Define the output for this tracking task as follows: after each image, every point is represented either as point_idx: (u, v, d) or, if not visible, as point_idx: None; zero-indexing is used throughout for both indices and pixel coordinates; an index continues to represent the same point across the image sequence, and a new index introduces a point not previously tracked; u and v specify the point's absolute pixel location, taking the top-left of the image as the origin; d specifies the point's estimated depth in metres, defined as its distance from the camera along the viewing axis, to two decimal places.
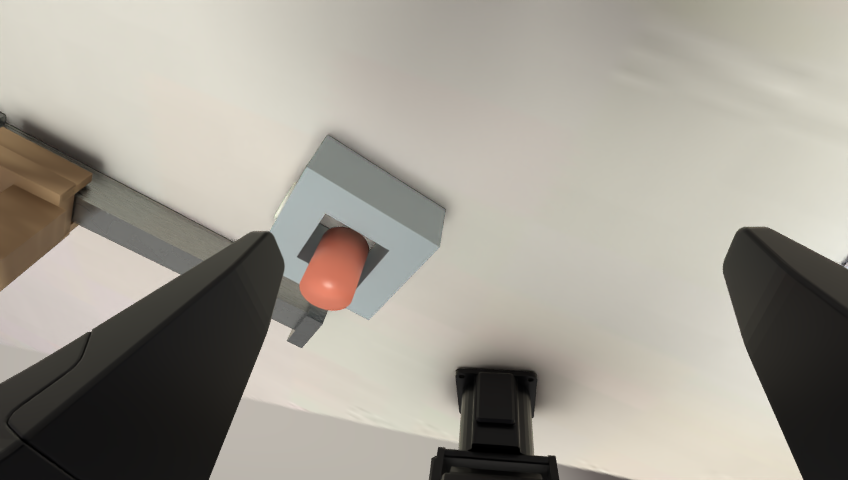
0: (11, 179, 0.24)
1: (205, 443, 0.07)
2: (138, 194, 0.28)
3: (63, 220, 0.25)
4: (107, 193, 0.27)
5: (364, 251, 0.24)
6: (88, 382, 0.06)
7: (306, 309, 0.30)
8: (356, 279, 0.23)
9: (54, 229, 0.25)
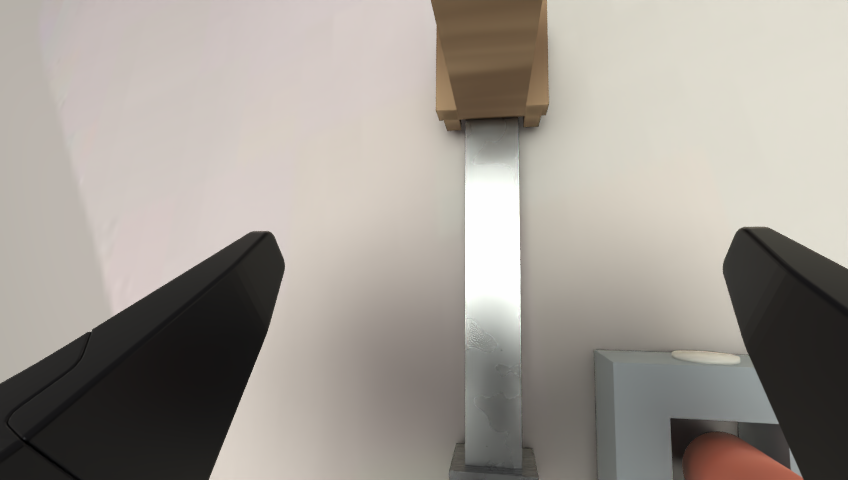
0: None
1: (205, 443, 0.07)
2: None
3: (505, 114, 0.19)
4: None
5: None
6: (88, 382, 0.06)
7: (521, 464, 0.19)
8: None
9: (500, 108, 0.18)
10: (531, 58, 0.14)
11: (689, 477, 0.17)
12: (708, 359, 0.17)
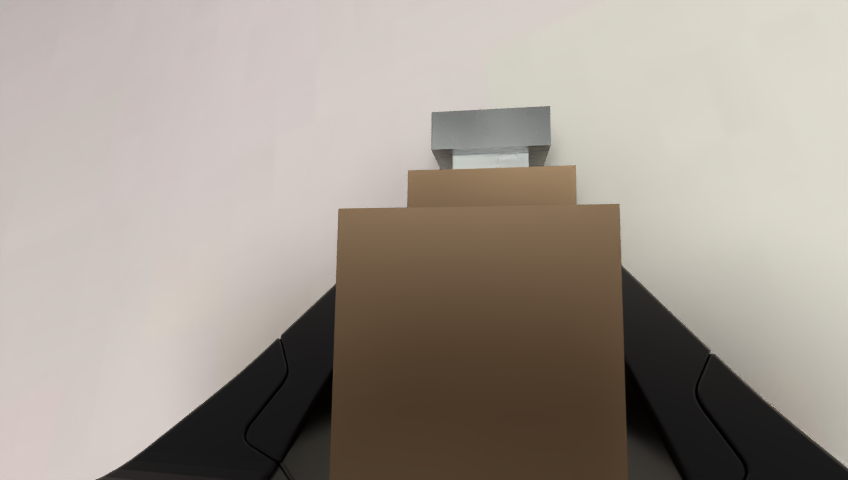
0: None
1: None
2: None
3: None
4: None
5: None
6: (312, 395, 0.05)
7: None
8: None
9: None
10: None
11: None
12: None
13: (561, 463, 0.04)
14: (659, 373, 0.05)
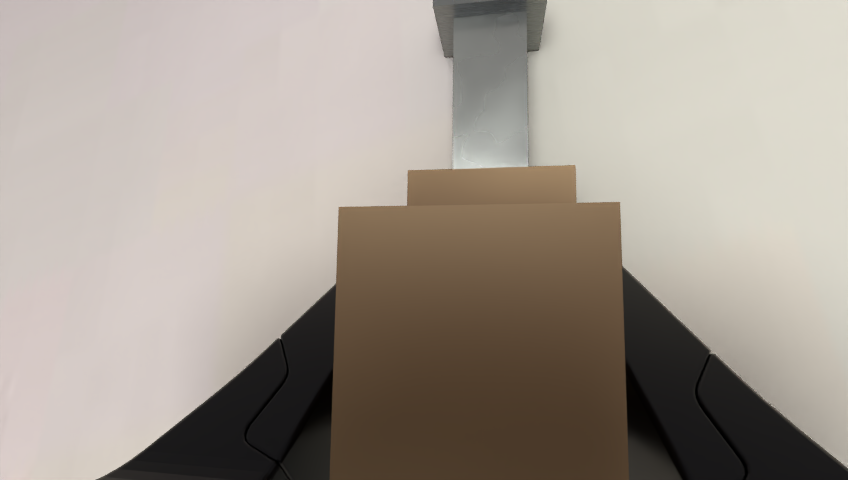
0: None
1: None
2: None
3: None
4: None
5: None
6: (312, 395, 0.05)
7: None
8: None
9: None
10: None
11: None
12: None
13: (563, 462, 0.04)
14: (659, 373, 0.05)
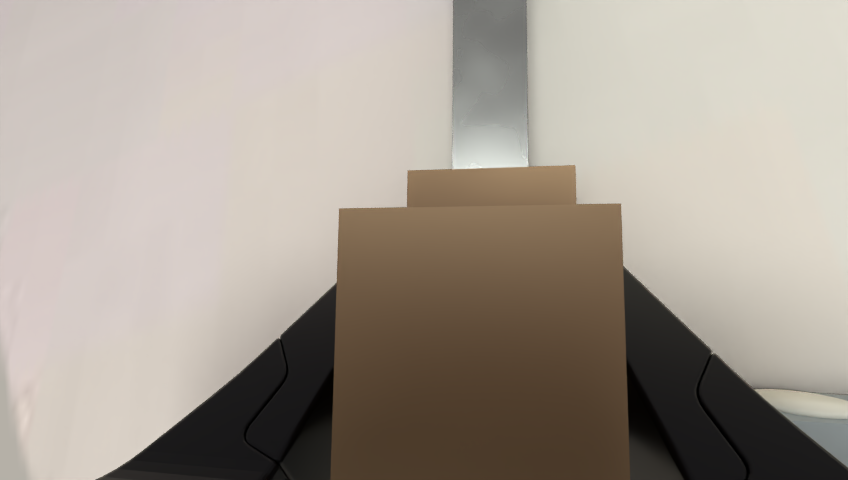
0: None
1: None
2: None
3: None
4: None
5: None
6: (312, 395, 0.05)
7: None
8: None
9: None
10: None
11: None
12: (814, 410, 0.11)
13: (564, 464, 0.04)
14: (660, 373, 0.05)
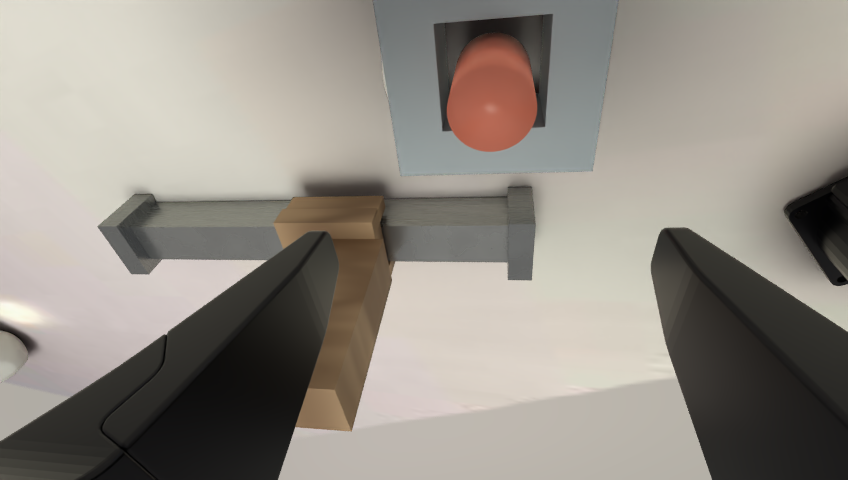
0: None
1: (273, 449, 0.07)
2: (278, 201, 0.25)
3: (385, 253, 0.22)
4: (250, 212, 0.25)
5: (519, 47, 0.15)
6: (177, 387, 0.05)
7: (506, 222, 0.22)
8: (525, 70, 0.14)
9: (383, 265, 0.21)
10: (359, 313, 0.18)
11: None
12: (385, 89, 0.17)
13: (327, 398, 0.15)
14: (840, 381, 0.05)
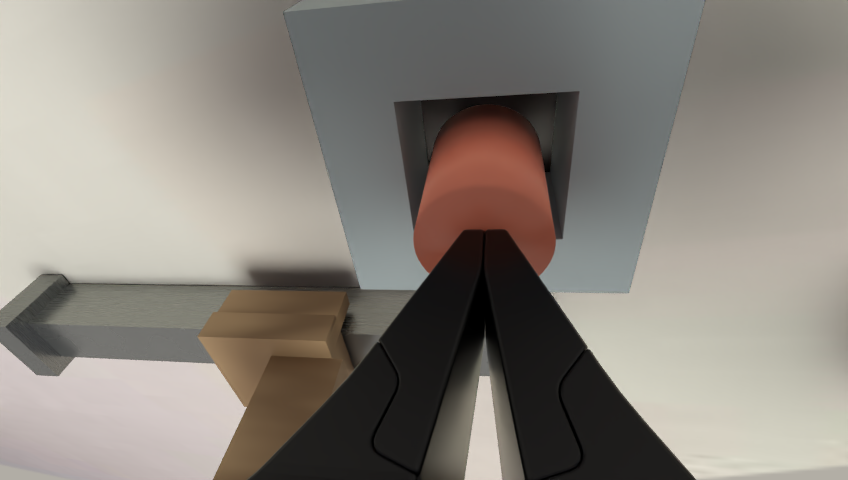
0: (266, 350, 0.16)
1: (462, 464, 0.07)
2: (217, 288, 0.20)
3: (346, 374, 0.16)
4: (180, 304, 0.19)
5: (525, 128, 0.10)
6: (432, 402, 0.05)
7: None
8: (536, 180, 0.09)
9: None
10: None
11: None
12: None
13: None
14: (532, 368, 0.05)
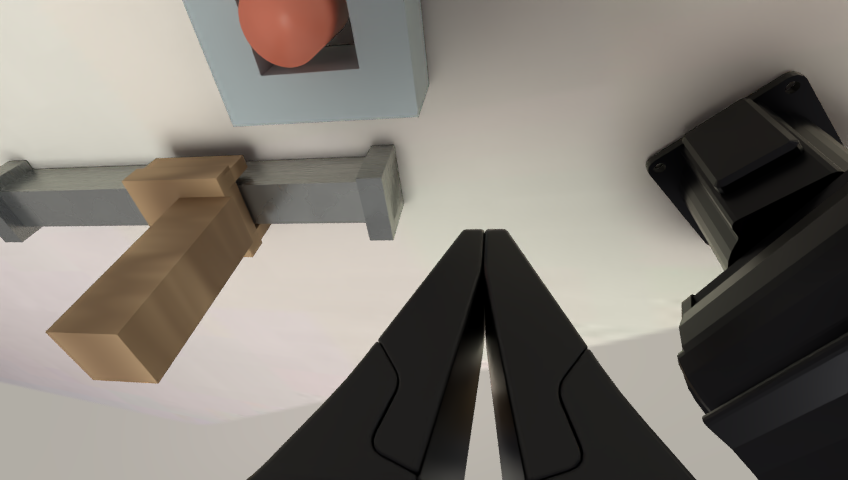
0: (175, 192, 0.21)
1: (462, 464, 0.07)
2: None
3: (237, 211, 0.21)
4: (118, 176, 0.24)
5: None
6: (432, 402, 0.05)
7: None
8: None
9: (232, 223, 0.21)
10: (177, 264, 0.17)
11: None
12: None
13: (115, 345, 0.15)
14: (531, 368, 0.05)
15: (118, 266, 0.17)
